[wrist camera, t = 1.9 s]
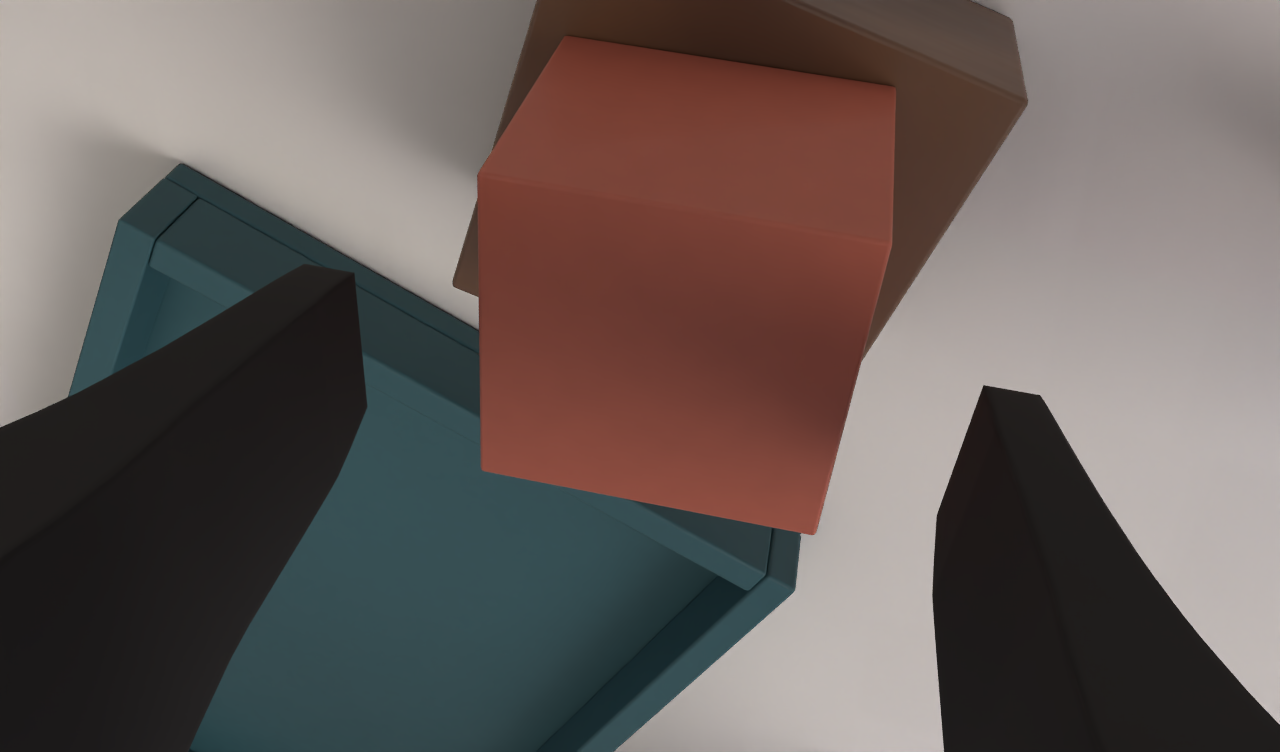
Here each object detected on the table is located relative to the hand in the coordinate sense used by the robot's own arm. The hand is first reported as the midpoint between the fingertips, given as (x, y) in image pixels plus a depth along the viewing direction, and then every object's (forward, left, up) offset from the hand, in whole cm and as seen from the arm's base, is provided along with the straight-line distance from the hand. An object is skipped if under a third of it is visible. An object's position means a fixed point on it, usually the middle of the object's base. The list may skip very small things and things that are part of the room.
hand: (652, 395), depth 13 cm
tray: (+1, +17, -8) cm, 19 cm away
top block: (0, 0, -4) cm, 4 cm away
